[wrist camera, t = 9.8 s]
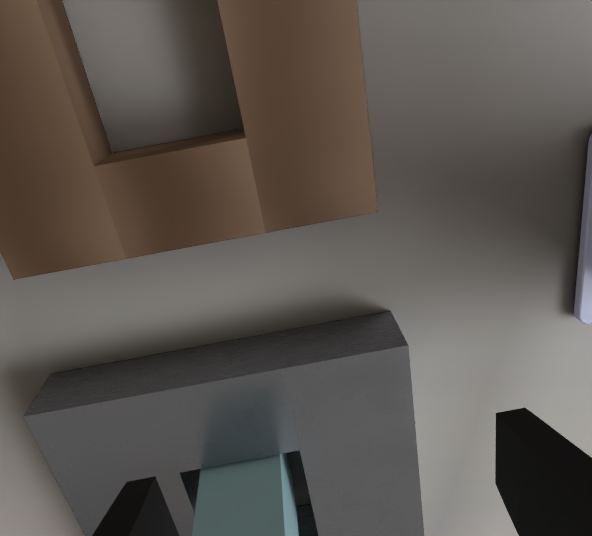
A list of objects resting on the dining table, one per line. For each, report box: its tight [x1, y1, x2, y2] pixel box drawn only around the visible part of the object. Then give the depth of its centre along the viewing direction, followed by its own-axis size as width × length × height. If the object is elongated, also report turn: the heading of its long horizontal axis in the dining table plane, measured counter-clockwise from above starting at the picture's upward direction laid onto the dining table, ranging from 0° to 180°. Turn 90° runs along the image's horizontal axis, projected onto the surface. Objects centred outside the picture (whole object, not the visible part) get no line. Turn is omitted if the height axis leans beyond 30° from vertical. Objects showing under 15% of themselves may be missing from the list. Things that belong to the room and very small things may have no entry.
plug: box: [192, 453, 299, 536], centre depth 19 cm, size 3×4×7 cm
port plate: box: [23, 311, 424, 536], centre depth 21 cm, size 14×14×2 cm
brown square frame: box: [0, 0, 378, 280], centre depth 14 cm, size 12×12×2 cm
